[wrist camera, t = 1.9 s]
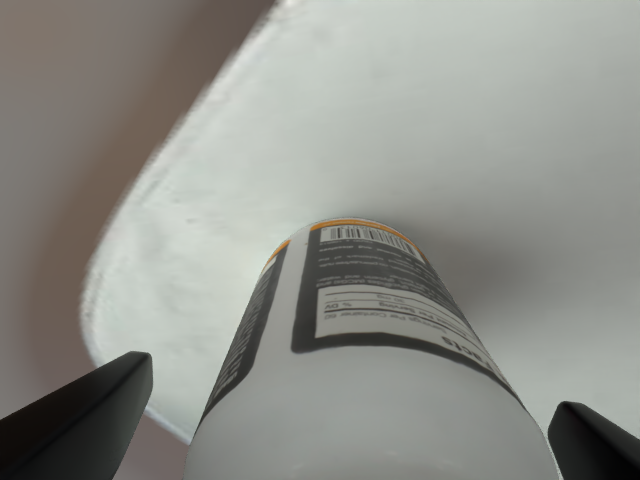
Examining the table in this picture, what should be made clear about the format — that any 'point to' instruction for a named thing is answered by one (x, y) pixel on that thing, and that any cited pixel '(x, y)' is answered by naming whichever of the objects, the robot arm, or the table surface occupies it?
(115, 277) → the table surface
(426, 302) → the pill bottle
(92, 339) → the table surface
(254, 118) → the table surface
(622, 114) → the table surface
